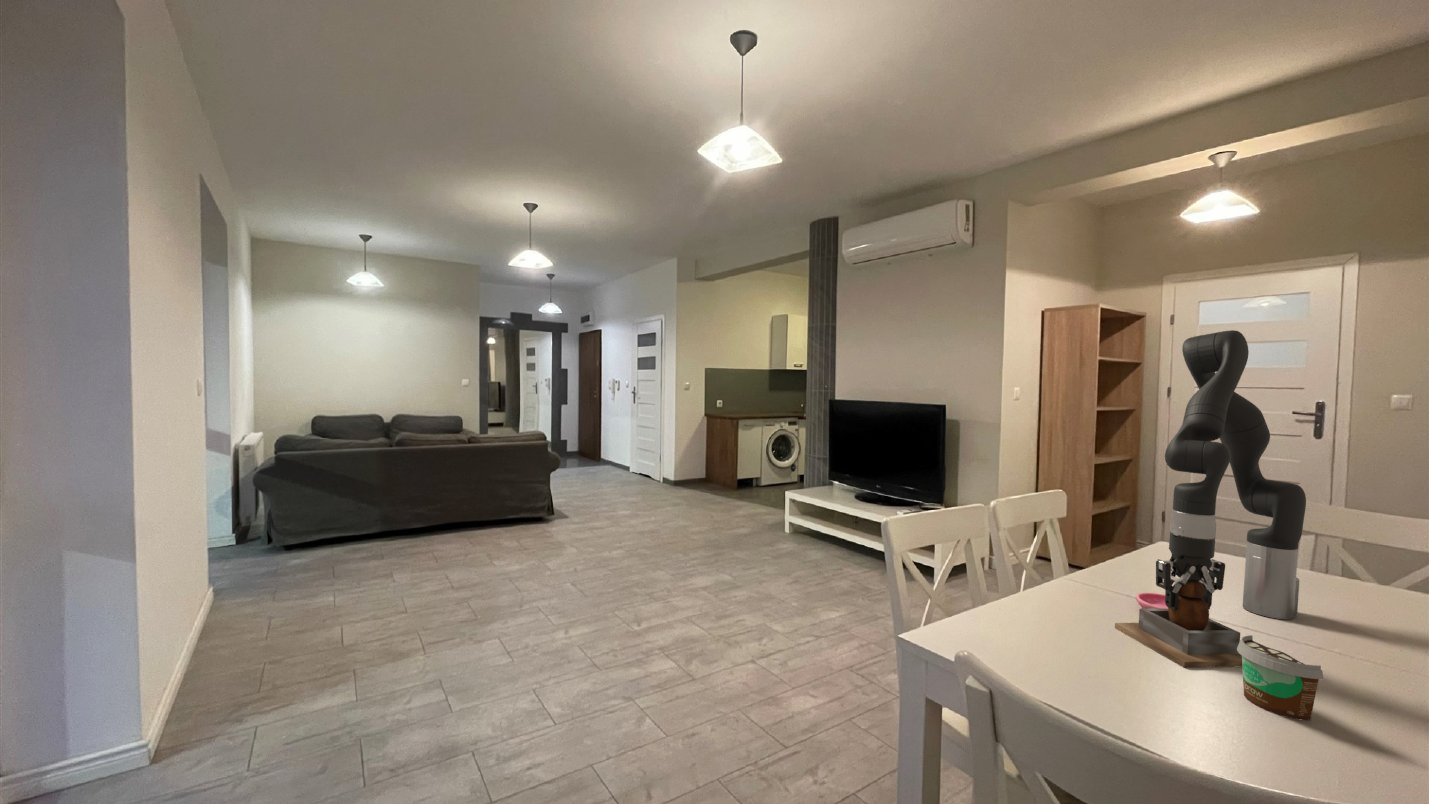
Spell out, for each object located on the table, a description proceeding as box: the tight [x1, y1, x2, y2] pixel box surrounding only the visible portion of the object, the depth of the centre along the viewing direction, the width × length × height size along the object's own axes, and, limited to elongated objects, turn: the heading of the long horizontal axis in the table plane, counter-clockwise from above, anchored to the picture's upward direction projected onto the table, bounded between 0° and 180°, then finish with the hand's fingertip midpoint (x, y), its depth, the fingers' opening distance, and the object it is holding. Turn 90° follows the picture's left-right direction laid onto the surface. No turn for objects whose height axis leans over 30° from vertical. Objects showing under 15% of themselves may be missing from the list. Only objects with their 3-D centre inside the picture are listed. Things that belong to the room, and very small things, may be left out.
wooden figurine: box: [1168, 580, 1210, 631], centre depth 123 cm, size 7×6×15 cm
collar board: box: [1114, 608, 1243, 669], centre depth 123 cm, size 18×18×6 cm
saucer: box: [1135, 592, 1168, 609], centre depth 141 cm, size 12×12×3 cm
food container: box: [1237, 634, 1324, 721], centre depth 101 cm, size 12×6×10 cm, turn 5°
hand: (1187, 608), depth 123 cm, fingers closed on wooden figurine, 7 cm apart
